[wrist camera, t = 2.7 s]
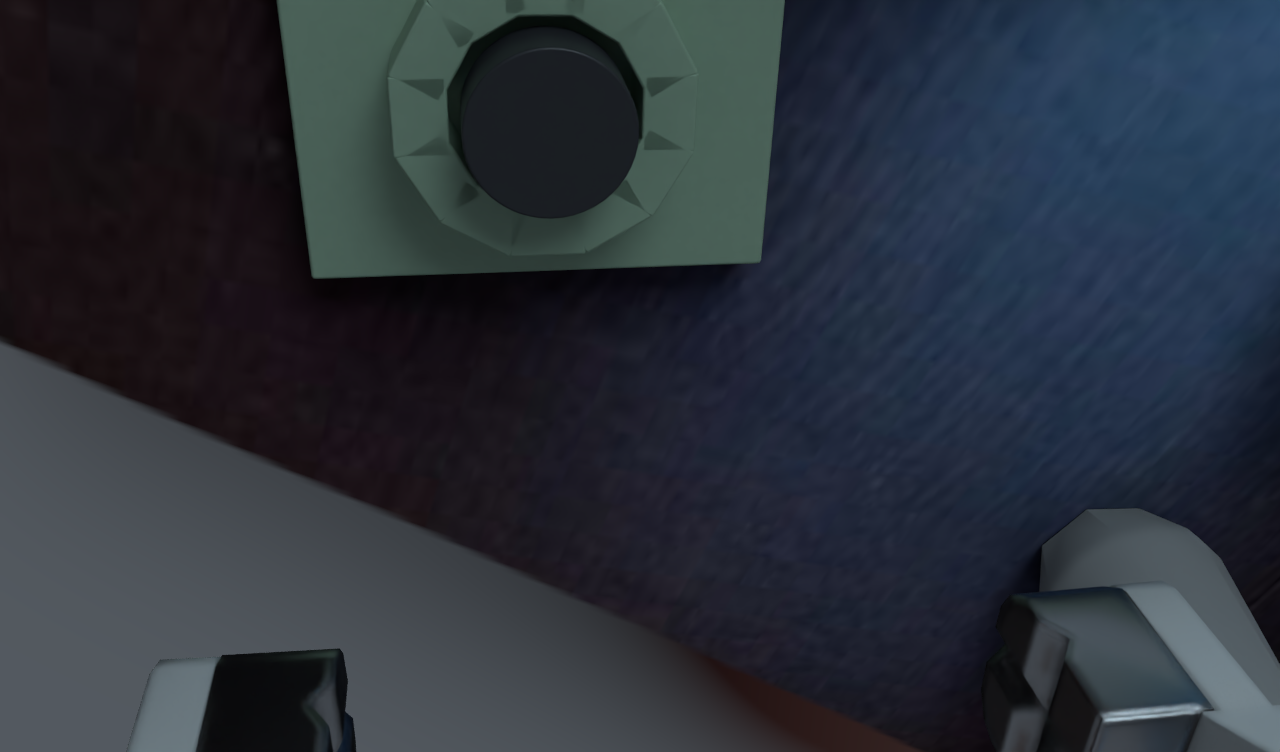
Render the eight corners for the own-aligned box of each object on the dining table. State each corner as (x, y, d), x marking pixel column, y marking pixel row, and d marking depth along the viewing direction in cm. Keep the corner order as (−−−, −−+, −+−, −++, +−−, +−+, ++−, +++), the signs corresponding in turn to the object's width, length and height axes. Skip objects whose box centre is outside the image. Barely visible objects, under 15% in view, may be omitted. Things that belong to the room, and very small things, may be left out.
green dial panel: (783, -130, 25) (820, -110, 23) (750, 244, 30) (779, 296, 27) (267, -137, 24) (246, -117, 21) (316, 259, 28) (304, 315, 26)
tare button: (629, 24, 24) (642, 46, 22) (626, 187, 26) (637, 217, 24) (456, 25, 23) (456, 48, 22) (463, 191, 25) (465, 222, 24)
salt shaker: (1098, 642, 40) (1352, 1009, 29) (975, 592, 38) (1197, 968, 26) (1215, 519, 37) (1539, 864, 26) (1092, 458, 35) (1387, 806, 24)
